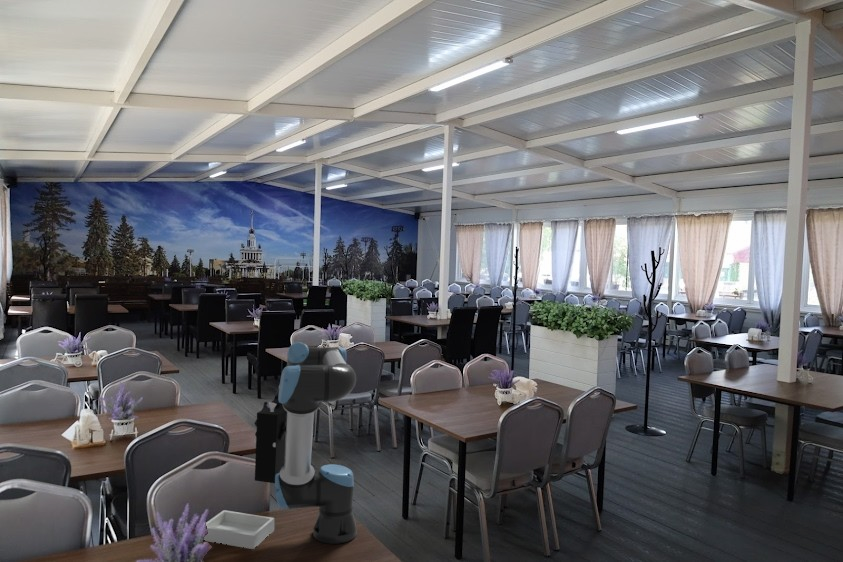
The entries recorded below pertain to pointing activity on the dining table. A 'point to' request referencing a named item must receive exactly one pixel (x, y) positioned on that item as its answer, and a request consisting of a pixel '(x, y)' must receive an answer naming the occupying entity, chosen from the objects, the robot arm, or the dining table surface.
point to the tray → (239, 529)
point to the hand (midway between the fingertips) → (265, 446)
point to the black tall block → (269, 443)
